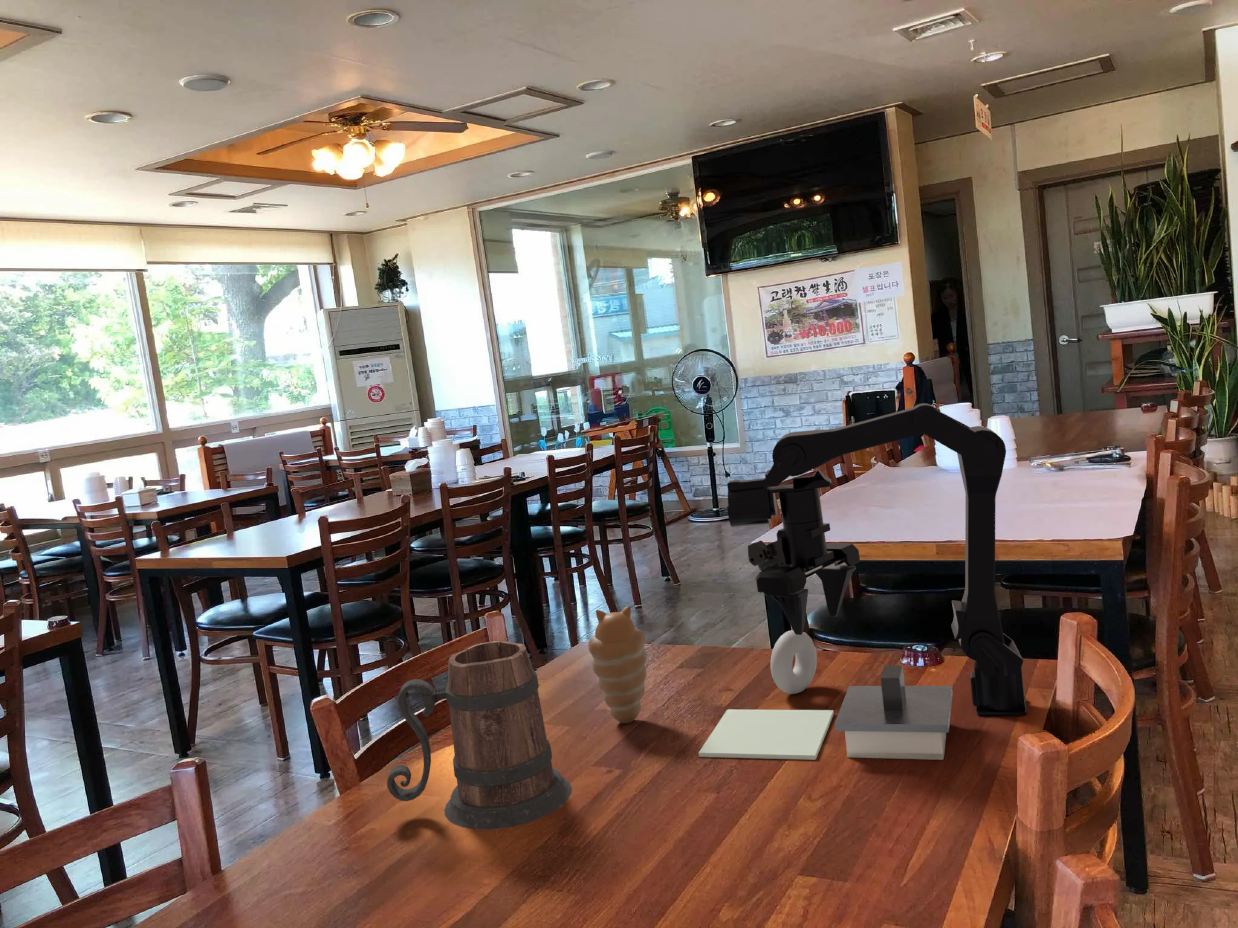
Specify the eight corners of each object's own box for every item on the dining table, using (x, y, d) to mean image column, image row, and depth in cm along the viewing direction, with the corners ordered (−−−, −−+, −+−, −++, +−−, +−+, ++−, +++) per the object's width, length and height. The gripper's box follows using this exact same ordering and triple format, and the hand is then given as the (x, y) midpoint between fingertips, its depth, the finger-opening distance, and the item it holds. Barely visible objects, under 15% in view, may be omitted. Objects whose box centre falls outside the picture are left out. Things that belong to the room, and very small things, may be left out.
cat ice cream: (653, 709, 156) (639, 598, 154) (657, 727, 148) (642, 610, 147) (598, 716, 156) (583, 606, 154) (598, 735, 148) (583, 618, 147)
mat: (833, 714, 145) (833, 710, 145) (815, 759, 130) (815, 755, 130) (727, 713, 151) (727, 709, 151) (699, 756, 136) (698, 752, 136)
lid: (952, 692, 136) (948, 654, 136) (948, 732, 123) (944, 690, 123) (849, 692, 141) (845, 655, 141) (835, 730, 128) (831, 690, 128)
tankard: (568, 763, 140) (549, 625, 137) (576, 815, 123) (554, 660, 121) (400, 791, 137) (378, 651, 135) (385, 848, 121) (360, 690, 118)
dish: (947, 723, 136) (944, 695, 136) (943, 759, 125) (940, 729, 125) (858, 722, 141) (856, 695, 140) (847, 757, 129) (844, 727, 129)
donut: (787, 704, 151) (780, 641, 150) (769, 701, 153) (762, 638, 152) (824, 683, 158) (817, 623, 157) (806, 680, 160) (799, 621, 159)
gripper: (792, 507, 155) (805, 604, 156) (718, 533, 141) (733, 639, 143) (855, 506, 147) (868, 608, 148) (783, 534, 134) (798, 646, 135)
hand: (816, 625), depth 144 cm, fingers open, 9 cm apart
